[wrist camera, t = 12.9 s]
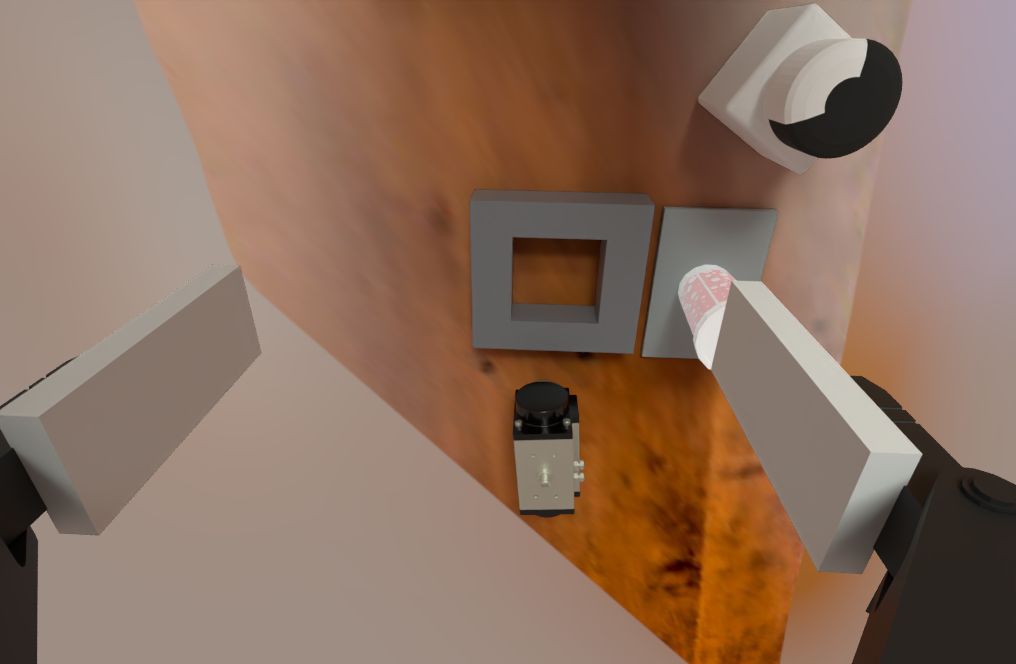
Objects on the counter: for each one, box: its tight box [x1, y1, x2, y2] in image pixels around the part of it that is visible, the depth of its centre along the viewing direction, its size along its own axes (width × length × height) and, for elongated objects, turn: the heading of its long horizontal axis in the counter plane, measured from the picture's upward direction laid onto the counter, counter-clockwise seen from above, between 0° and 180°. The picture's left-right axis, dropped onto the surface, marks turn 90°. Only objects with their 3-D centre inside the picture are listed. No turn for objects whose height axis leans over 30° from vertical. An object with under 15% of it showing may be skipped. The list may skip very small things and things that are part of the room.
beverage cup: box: [678, 265, 737, 370], centre depth 40 cm, size 6×6×14 cm
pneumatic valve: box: [513, 380, 584, 517], centre depth 48 cm, size 6×12×12 cm, turn 4°
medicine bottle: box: [698, 4, 902, 174], centre depth 34 cm, size 7×7×12 cm
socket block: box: [470, 189, 655, 354], centre depth 45 cm, size 13×14×4 cm
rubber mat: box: [641, 206, 779, 359], centre depth 46 cm, size 14×9×1 cm, turn 179°
